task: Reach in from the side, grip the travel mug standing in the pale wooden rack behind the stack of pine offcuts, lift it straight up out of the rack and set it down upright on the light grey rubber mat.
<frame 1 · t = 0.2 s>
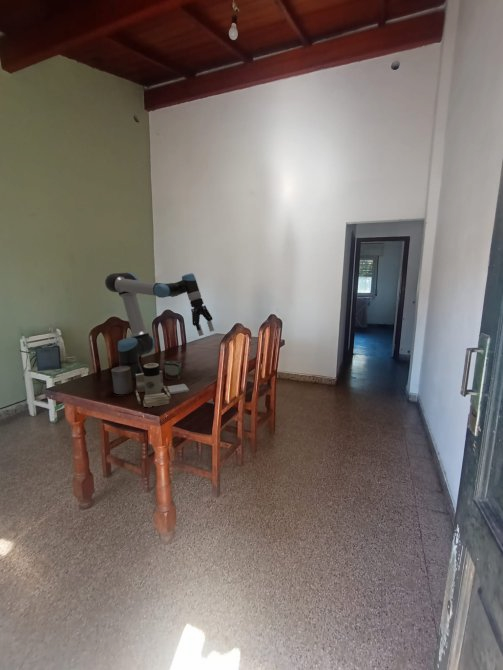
hand: (207, 333, 203), 28 cm above the table, tool tilted 20°, fingers open, 13 cm apart
food container: (175, 377, 209), on the table
travel mug: (153, 398, 177), resting in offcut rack
pillar candle: (123, 392, 185), on the table
mat: (177, 389, 188), on the table
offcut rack: (153, 398, 176), on the table
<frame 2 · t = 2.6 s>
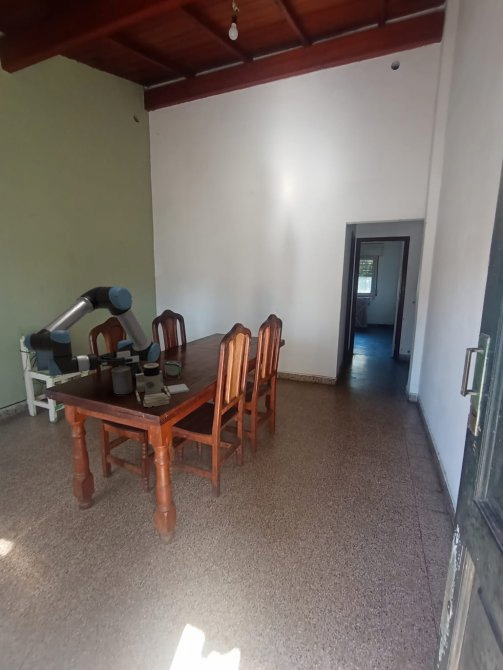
hand: (134, 355, 167), 24 cm above the table, tool horizontal, fingers open, 13 cm apart
nothing on the table moved.
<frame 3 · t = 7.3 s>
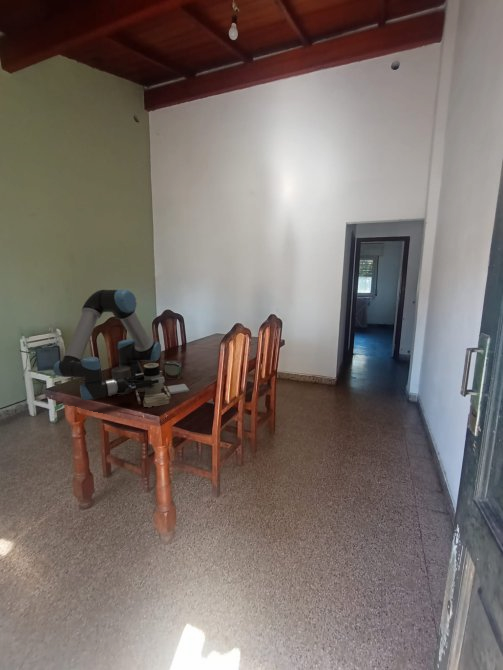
hand: (161, 377, 177), 11 cm above the table, tool horizontal, fingers closed on travel mug, 8 cm apart
travel mug: (153, 398, 177), resting in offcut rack, touching gripper
everything else where it was.
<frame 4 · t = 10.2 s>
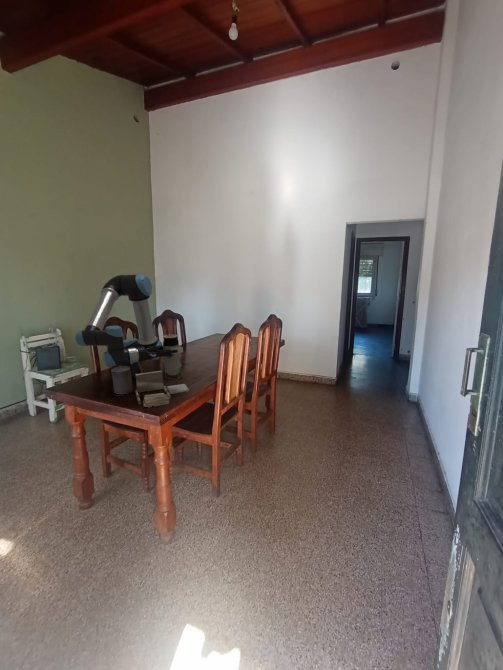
hand: (179, 348, 183), 24 cm above the table, tool horizontal, fingers closed on travel mug, 8 cm apart
travel mug: (172, 368, 183), point 13 cm above the table, touching gripper
everything else where it was.
when the fingers open (13 cm above the table, at t = 13.4 s): travel mug drops 1 cm, resting on mat.
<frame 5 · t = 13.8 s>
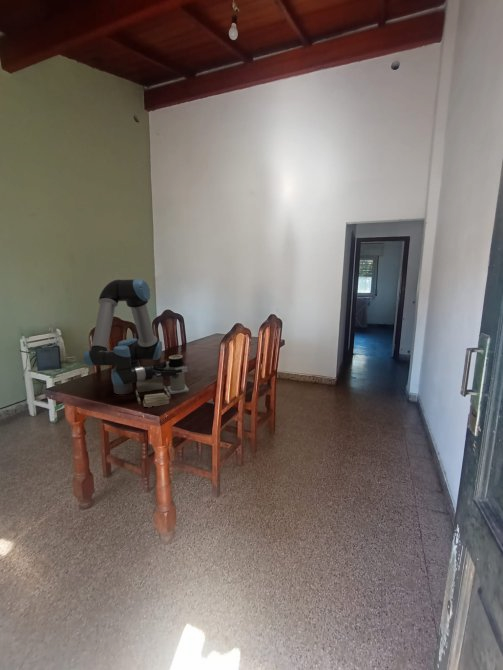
hand: (182, 366, 187), 13 cm above the table, tool horizontal, fingers open, 13 cm apart
travel mug: (177, 388, 188), point 1 cm above the table, touching mat
everything else where it was.
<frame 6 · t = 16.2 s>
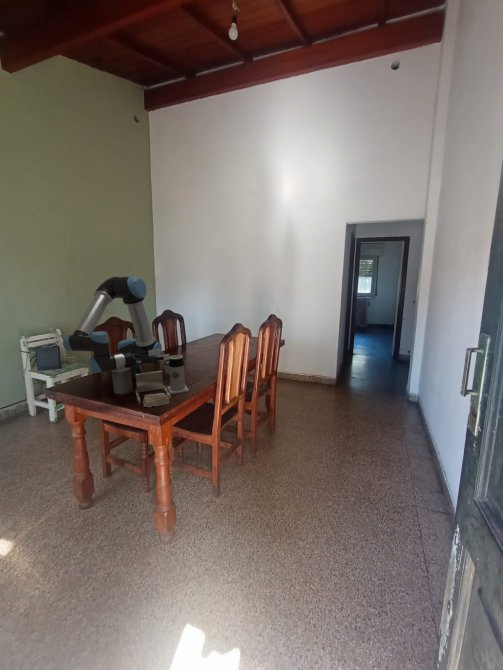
hand: (164, 353, 181), 22 cm above the table, tool horizontal, fingers open, 13 cm apart
nothing on the table moved.
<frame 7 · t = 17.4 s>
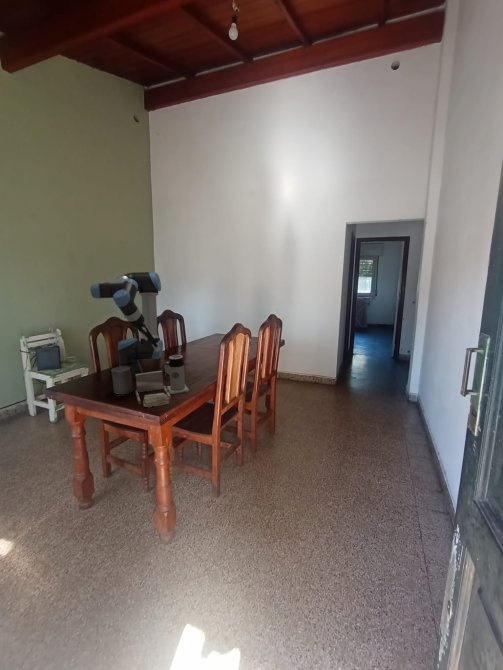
hand: (153, 344, 187), 25 cm above the table, tool tilted 35°, fingers open, 13 cm apart
nothing on the table moved.
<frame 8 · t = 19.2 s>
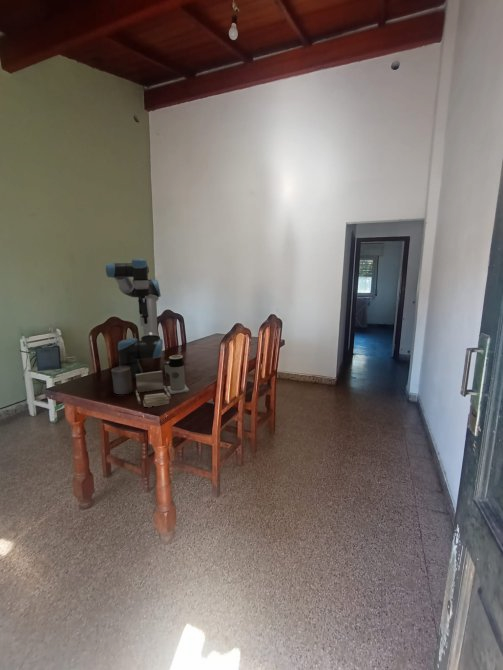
hand: (144, 327, 185), 35 cm above the table, tool pointing down, fingers open, 13 cm apart
nothing on the table moved.
at the end: travel mug inside the target area on the mat (0.1 cm from its centre), point 0.8 cm above the mat's base; travel mug tilted 0°; the gripper is holding nothing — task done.
